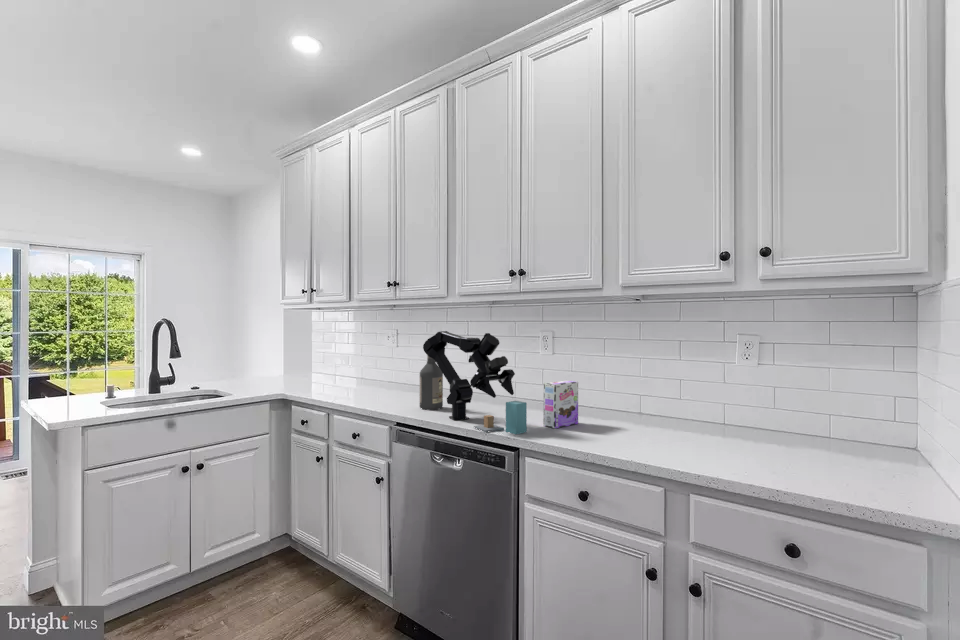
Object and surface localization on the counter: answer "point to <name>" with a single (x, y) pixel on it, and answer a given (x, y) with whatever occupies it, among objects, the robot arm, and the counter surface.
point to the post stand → (489, 424)
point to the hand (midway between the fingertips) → (504, 395)
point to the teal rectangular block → (516, 417)
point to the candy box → (560, 404)
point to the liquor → (431, 386)
